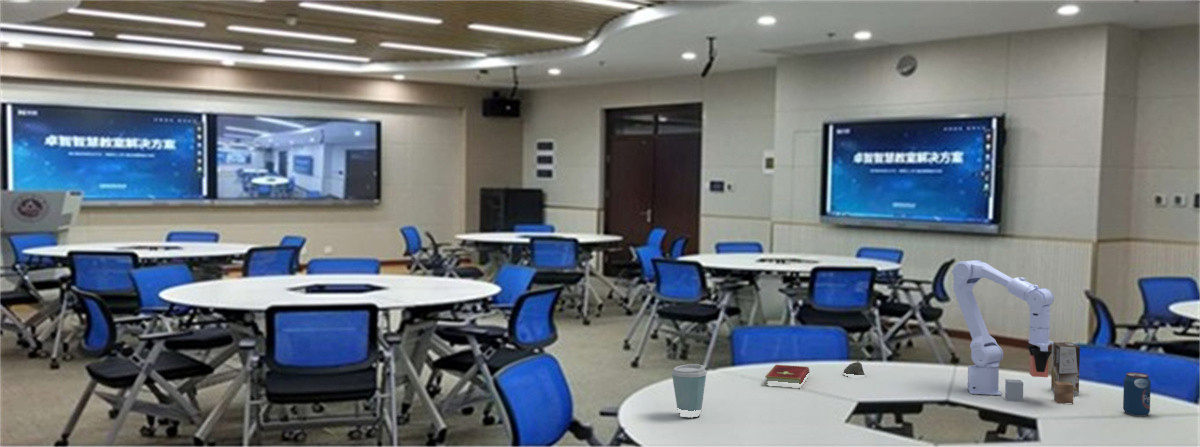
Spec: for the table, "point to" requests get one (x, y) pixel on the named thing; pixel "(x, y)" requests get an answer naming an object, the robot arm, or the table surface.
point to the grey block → (1013, 390)
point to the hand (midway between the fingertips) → (1038, 370)
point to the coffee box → (1065, 364)
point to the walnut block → (1063, 392)
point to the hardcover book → (787, 373)
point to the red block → (1034, 372)
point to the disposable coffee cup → (689, 386)
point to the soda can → (1136, 394)
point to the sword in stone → (855, 367)
